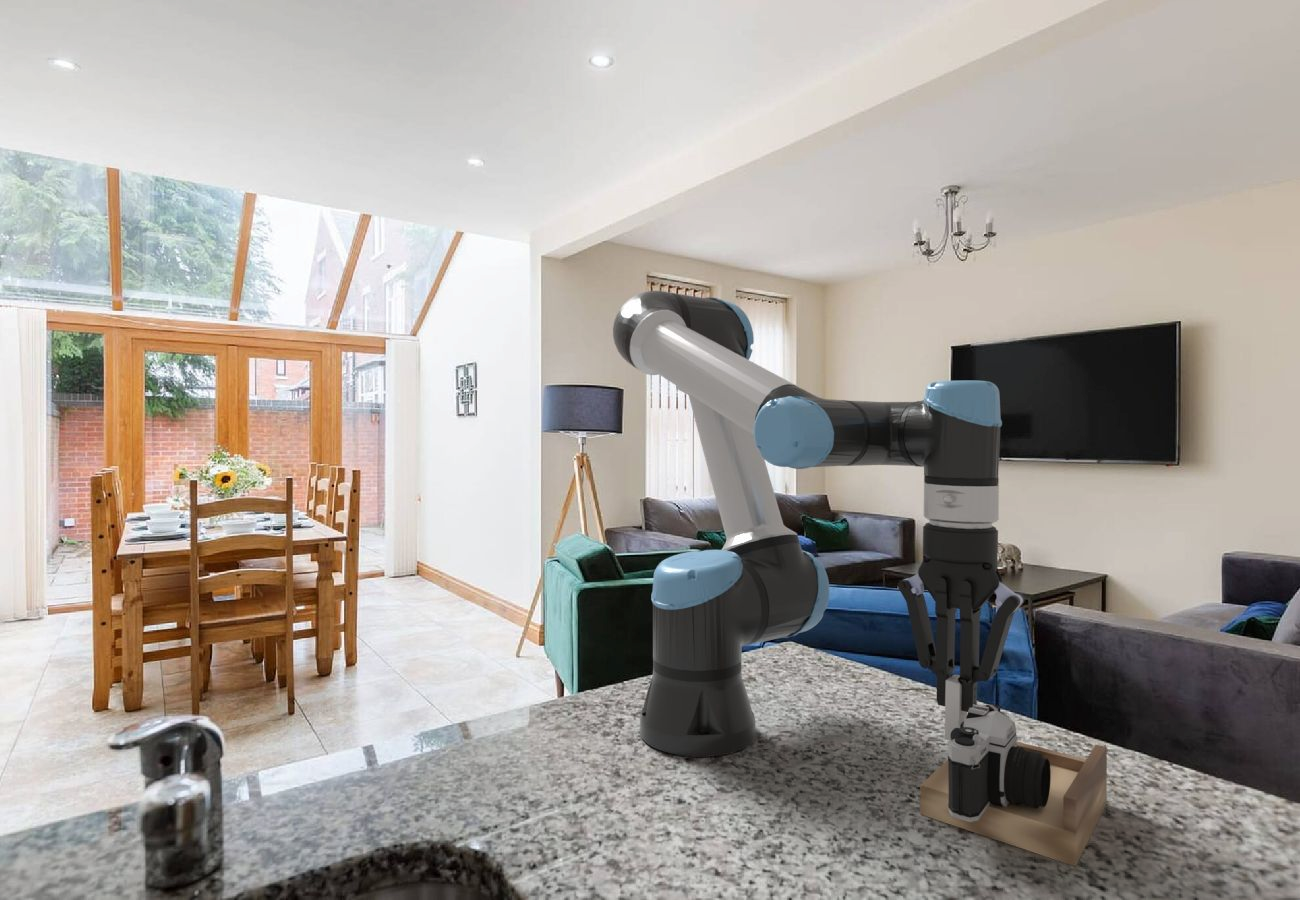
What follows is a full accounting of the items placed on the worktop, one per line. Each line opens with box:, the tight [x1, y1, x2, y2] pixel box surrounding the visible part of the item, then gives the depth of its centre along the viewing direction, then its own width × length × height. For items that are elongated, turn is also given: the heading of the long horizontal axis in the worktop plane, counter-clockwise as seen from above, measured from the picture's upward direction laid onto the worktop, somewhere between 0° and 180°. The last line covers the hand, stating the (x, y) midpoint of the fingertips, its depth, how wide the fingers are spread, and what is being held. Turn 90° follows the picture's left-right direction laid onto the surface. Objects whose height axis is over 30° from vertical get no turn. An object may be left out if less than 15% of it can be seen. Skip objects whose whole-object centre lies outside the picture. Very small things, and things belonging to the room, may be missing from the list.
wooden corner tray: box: [919, 741, 1108, 867], centre depth 75 cm, size 14×15×6 cm
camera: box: [947, 704, 1051, 822], centre depth 71 cm, size 13×8×9 cm, turn 143°
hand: (955, 737), depth 79 cm, fingers closed
